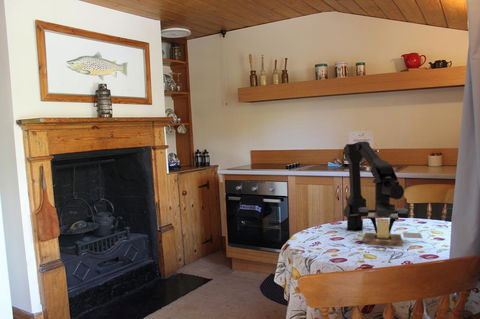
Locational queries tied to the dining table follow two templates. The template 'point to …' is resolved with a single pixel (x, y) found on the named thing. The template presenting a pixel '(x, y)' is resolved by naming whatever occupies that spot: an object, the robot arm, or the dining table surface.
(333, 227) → the dining table surface
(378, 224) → the peg block
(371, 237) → the rack plate
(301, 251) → the dining table surface
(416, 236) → the grey square plate
